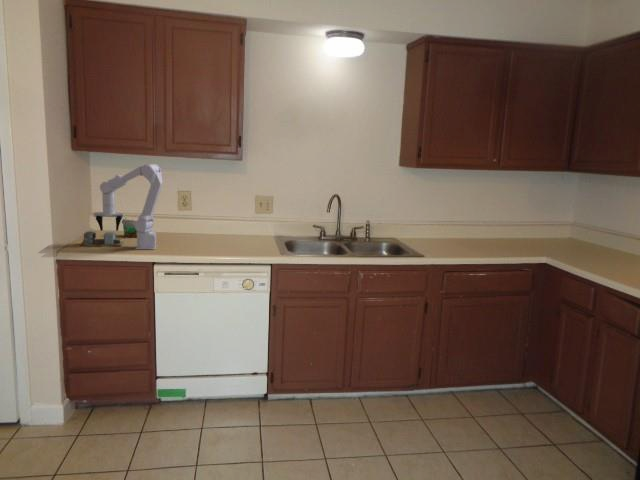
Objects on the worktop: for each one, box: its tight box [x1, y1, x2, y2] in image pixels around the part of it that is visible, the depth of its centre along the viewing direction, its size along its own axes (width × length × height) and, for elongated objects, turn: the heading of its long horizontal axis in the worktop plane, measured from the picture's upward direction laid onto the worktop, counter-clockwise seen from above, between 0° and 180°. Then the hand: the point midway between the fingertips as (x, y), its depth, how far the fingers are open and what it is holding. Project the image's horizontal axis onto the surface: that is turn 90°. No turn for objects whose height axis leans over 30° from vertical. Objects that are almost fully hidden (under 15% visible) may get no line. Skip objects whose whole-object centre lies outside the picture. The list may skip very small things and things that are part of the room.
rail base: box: [79, 230, 125, 248], centre depth 258 cm, size 20×8×6 cm, turn 102°
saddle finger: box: [103, 231, 116, 245], centre depth 258 cm, size 4×6×6 cm
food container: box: [121, 217, 137, 239], centre depth 280 cm, size 12×6×10 cm, turn 62°
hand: (109, 230), depth 257 cm, fingers open, 7 cm apart
